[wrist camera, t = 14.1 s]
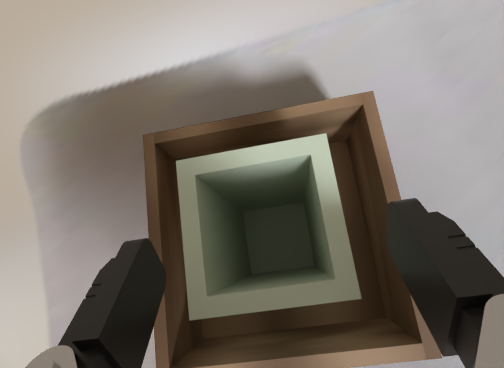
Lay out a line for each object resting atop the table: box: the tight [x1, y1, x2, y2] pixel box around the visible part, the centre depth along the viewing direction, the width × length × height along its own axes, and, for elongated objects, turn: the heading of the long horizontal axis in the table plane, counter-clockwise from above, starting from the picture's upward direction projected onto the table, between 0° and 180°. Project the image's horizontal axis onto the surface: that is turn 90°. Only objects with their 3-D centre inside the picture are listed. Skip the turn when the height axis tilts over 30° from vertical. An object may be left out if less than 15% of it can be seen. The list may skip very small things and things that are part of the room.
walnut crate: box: [143, 91, 442, 368], centre depth 17 cm, size 12×12×6 cm
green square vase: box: [176, 133, 362, 321], centre depth 14 cm, size 5×5×10 cm
